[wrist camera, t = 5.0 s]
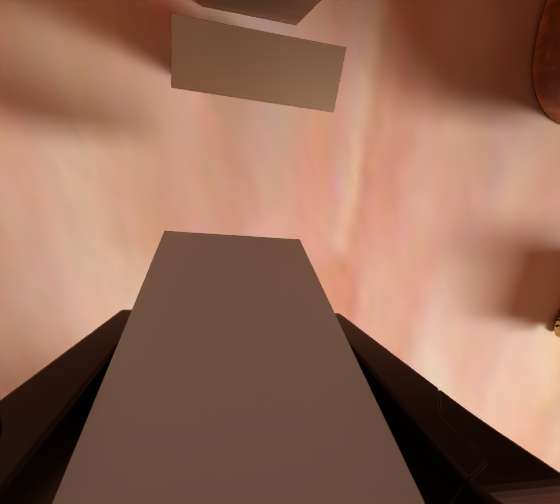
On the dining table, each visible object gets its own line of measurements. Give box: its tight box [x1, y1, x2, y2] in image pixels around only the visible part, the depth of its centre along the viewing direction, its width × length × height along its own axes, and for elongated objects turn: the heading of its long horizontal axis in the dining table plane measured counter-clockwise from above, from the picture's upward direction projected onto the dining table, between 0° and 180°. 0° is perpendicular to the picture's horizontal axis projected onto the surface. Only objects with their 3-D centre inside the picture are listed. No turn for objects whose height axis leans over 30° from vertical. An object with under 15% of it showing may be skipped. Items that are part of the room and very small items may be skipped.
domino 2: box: [171, 14, 346, 112], centre depth 14 cm, size 2×5×10 cm, turn 82°
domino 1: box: [52, 231, 425, 504], centre depth 8 cm, size 2×5×10 cm, turn 83°
